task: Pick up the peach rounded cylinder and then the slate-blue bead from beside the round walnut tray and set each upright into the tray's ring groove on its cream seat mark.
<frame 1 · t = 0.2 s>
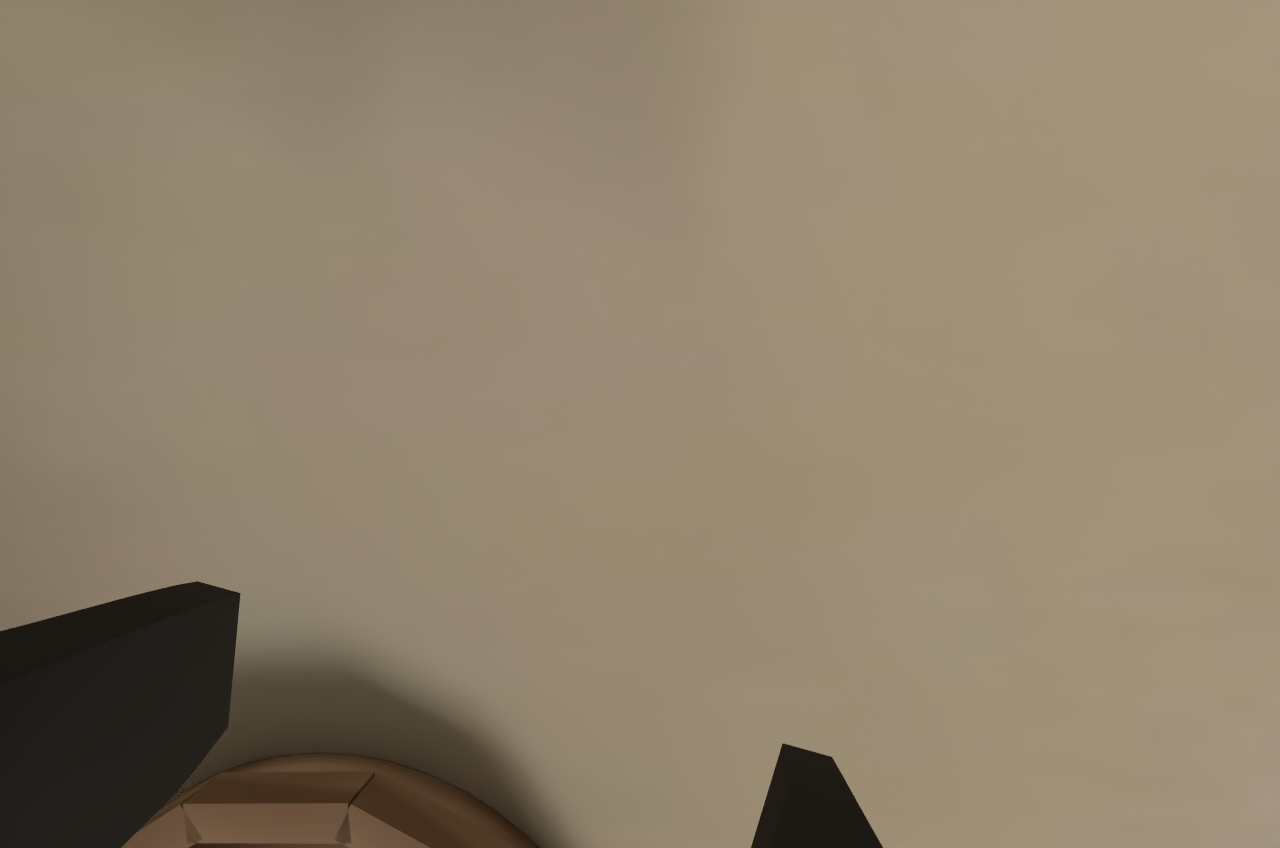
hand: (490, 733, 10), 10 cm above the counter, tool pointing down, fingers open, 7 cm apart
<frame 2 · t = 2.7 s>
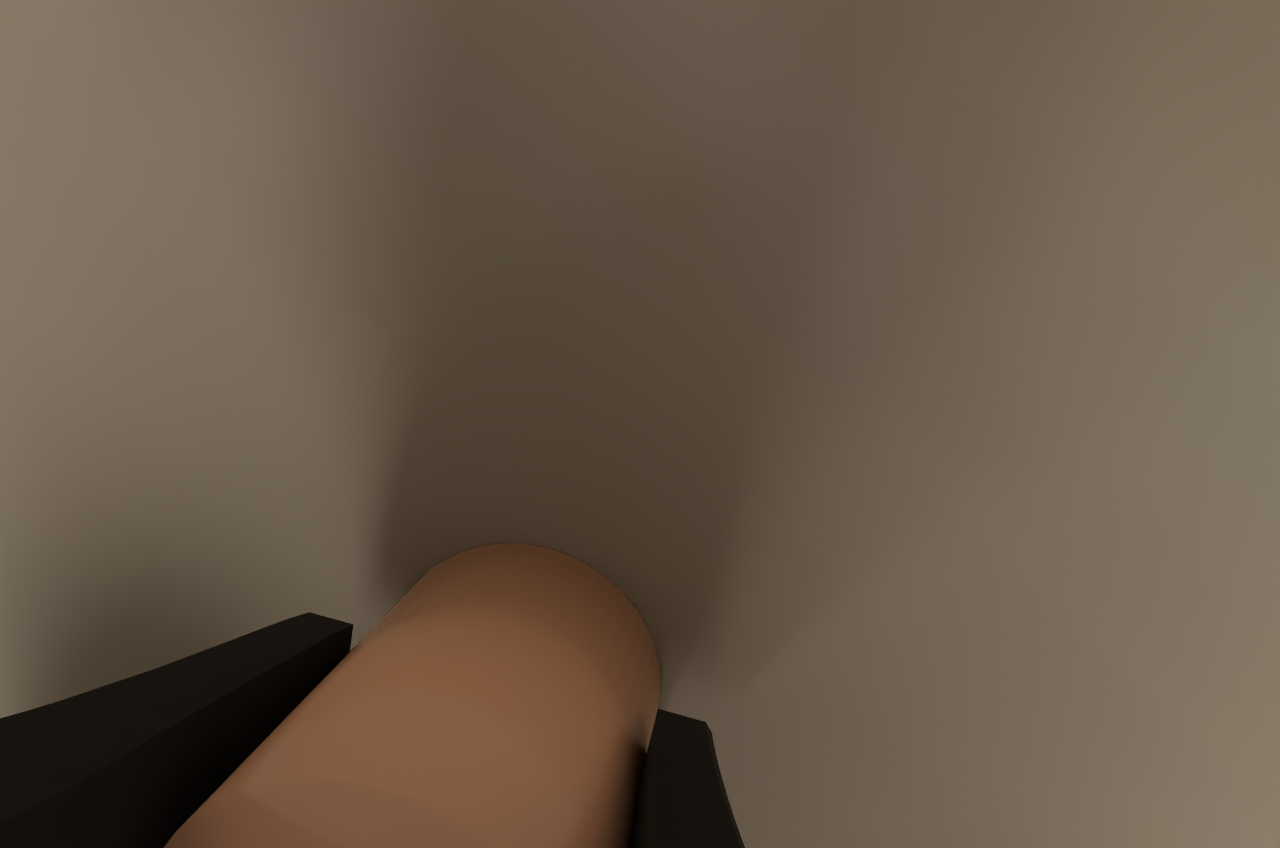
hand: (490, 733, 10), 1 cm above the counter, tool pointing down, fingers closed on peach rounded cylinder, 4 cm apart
peach rounded cylinder: (522, 673, 12), on the counter, touching gripper
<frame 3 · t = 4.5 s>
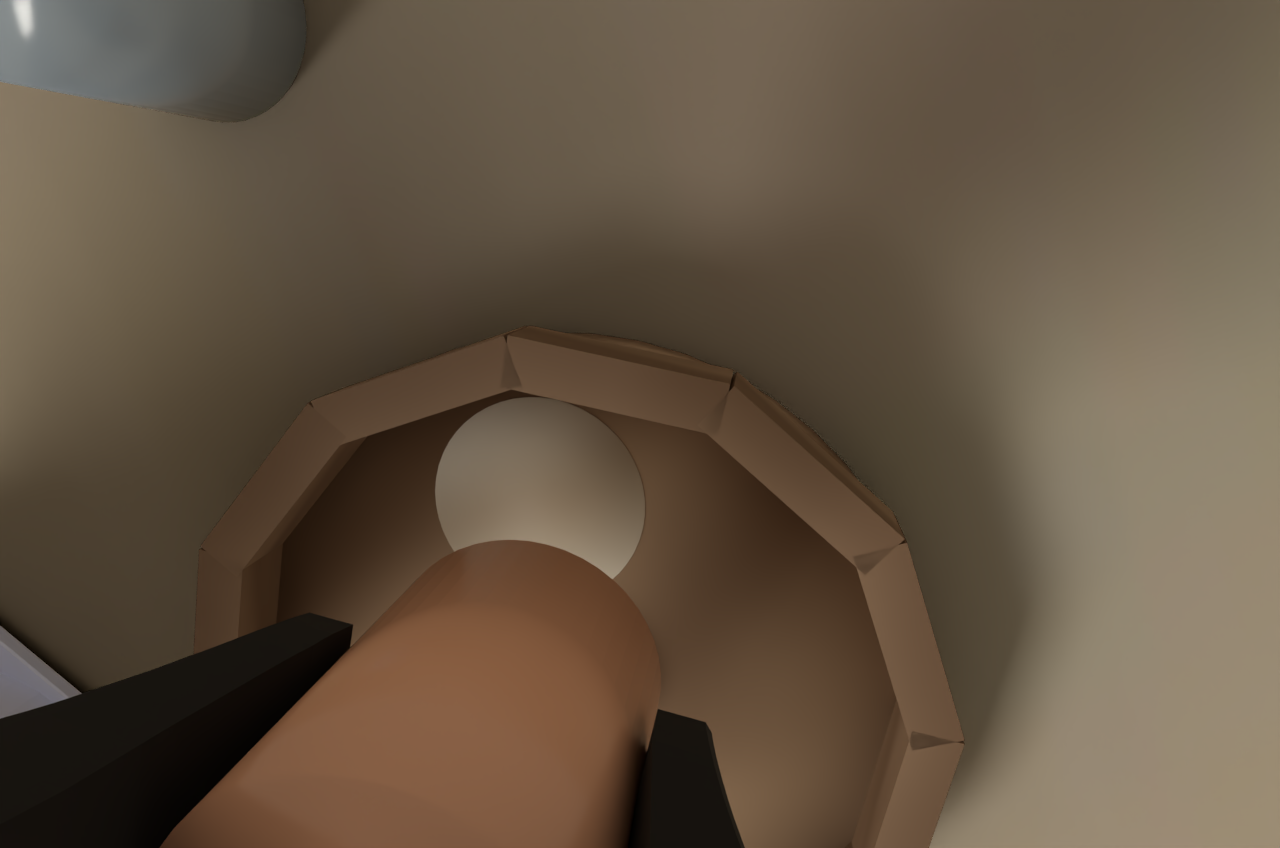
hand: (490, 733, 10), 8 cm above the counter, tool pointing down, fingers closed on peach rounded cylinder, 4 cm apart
slate bead: (217, 21, 17), on the counter
peach rounded cylinder: (522, 670, 12), point 7 cm above the counter, touching gripper
walnut groove tray: (574, 667, 19), on the counter
when the fingers open (4 cm above the counter, at t = 6.3 s): peach rounded cylinder drops 1 cm, resting on walnut groove tray.
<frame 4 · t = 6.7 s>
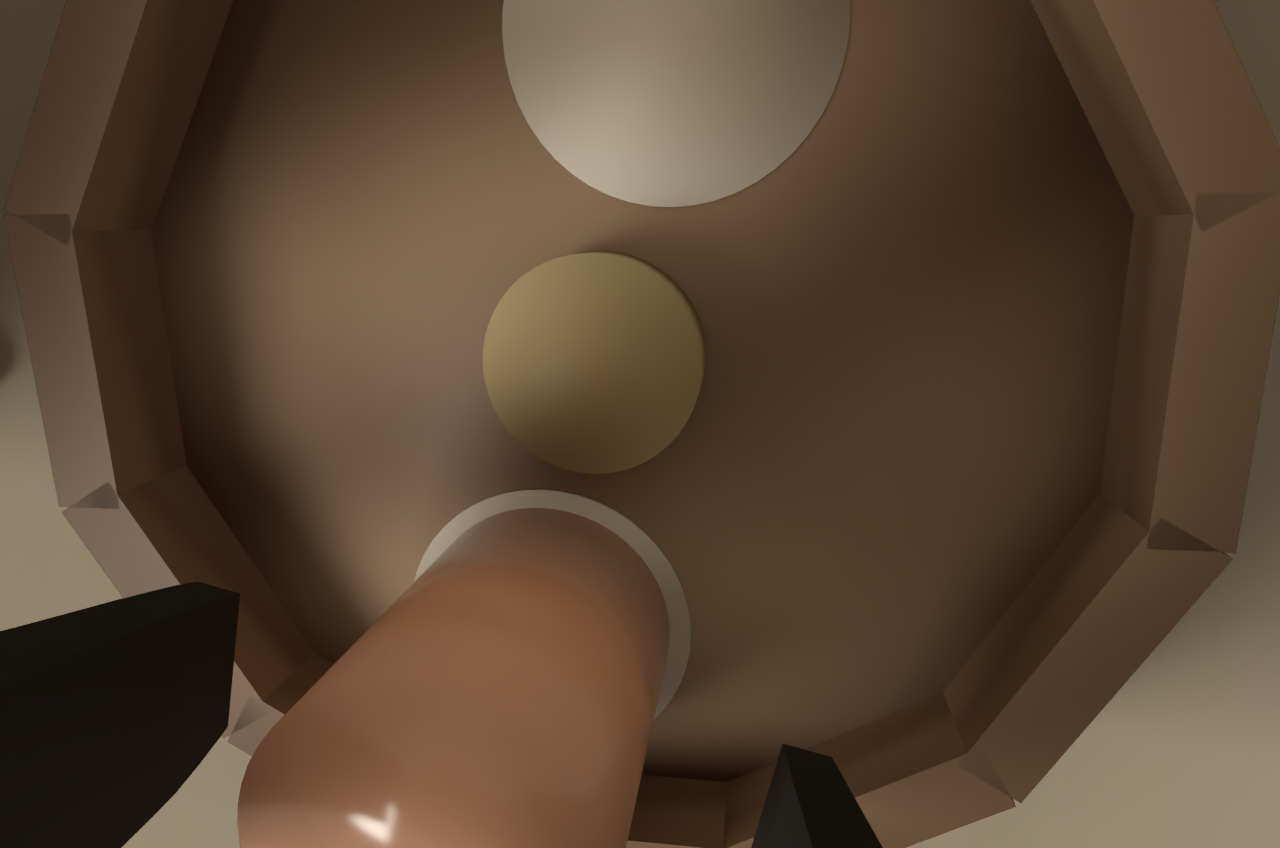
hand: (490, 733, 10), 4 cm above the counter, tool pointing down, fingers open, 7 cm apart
peach rounded cylinder: (545, 625, 13), point 1 cm above the counter, touching walnut groove tray
walnut groove tray: (615, 346, 13), on the counter
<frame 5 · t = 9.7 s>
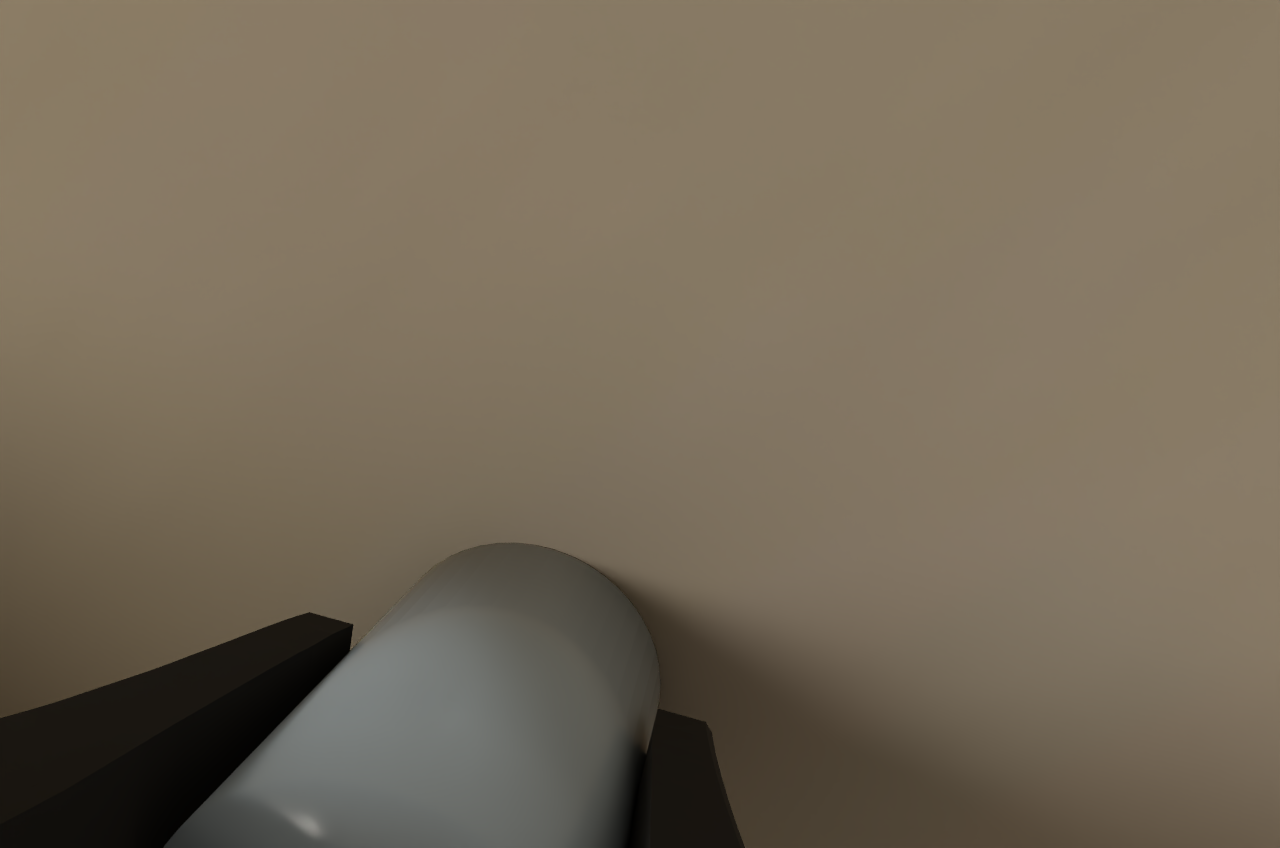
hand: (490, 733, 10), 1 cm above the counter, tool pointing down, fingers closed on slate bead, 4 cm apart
slate bead: (522, 673, 12), on the counter, touching gripper
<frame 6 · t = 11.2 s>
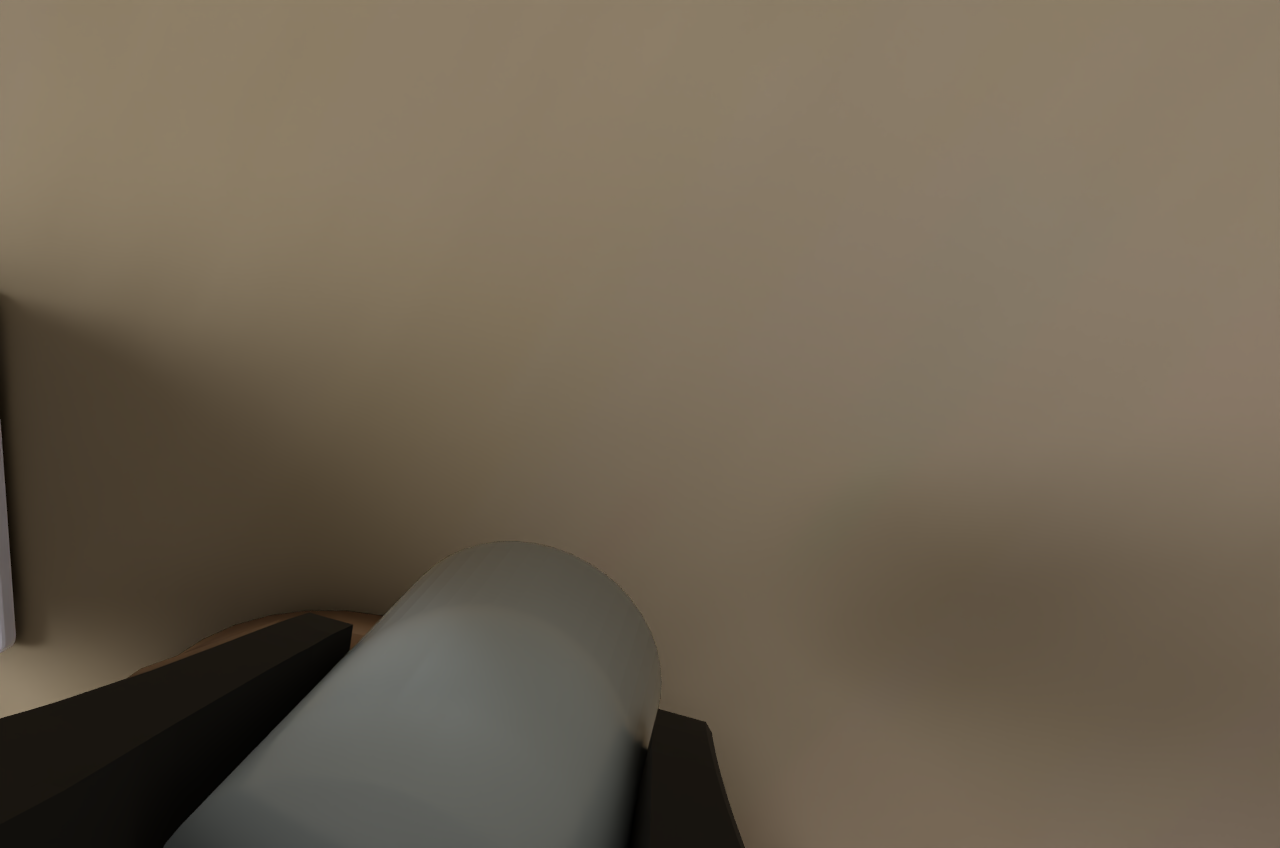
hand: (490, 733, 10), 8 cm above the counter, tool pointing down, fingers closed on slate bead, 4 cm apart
slate bead: (523, 671, 12), point 7 cm above the counter, touching gripper
when the fingers open (4 cm above the counter, at t = 13.0 s): slate bead drops 1 cm, resting on walnut groove tray.
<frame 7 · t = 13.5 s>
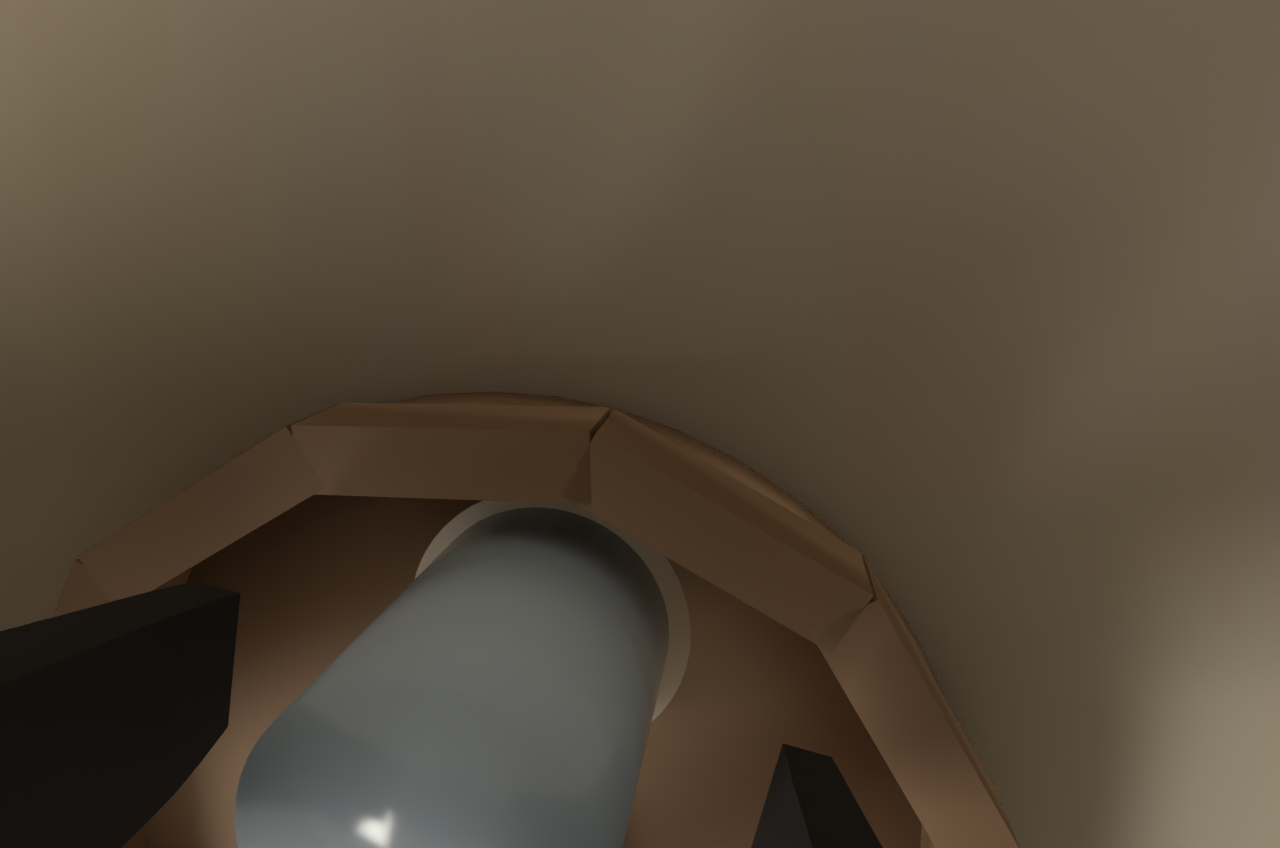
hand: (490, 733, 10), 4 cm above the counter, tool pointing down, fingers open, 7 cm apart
slate bead: (545, 625, 13), point 1 cm above the counter, touching walnut groove tray
walnut groove tray: (518, 811, 15), on the counter
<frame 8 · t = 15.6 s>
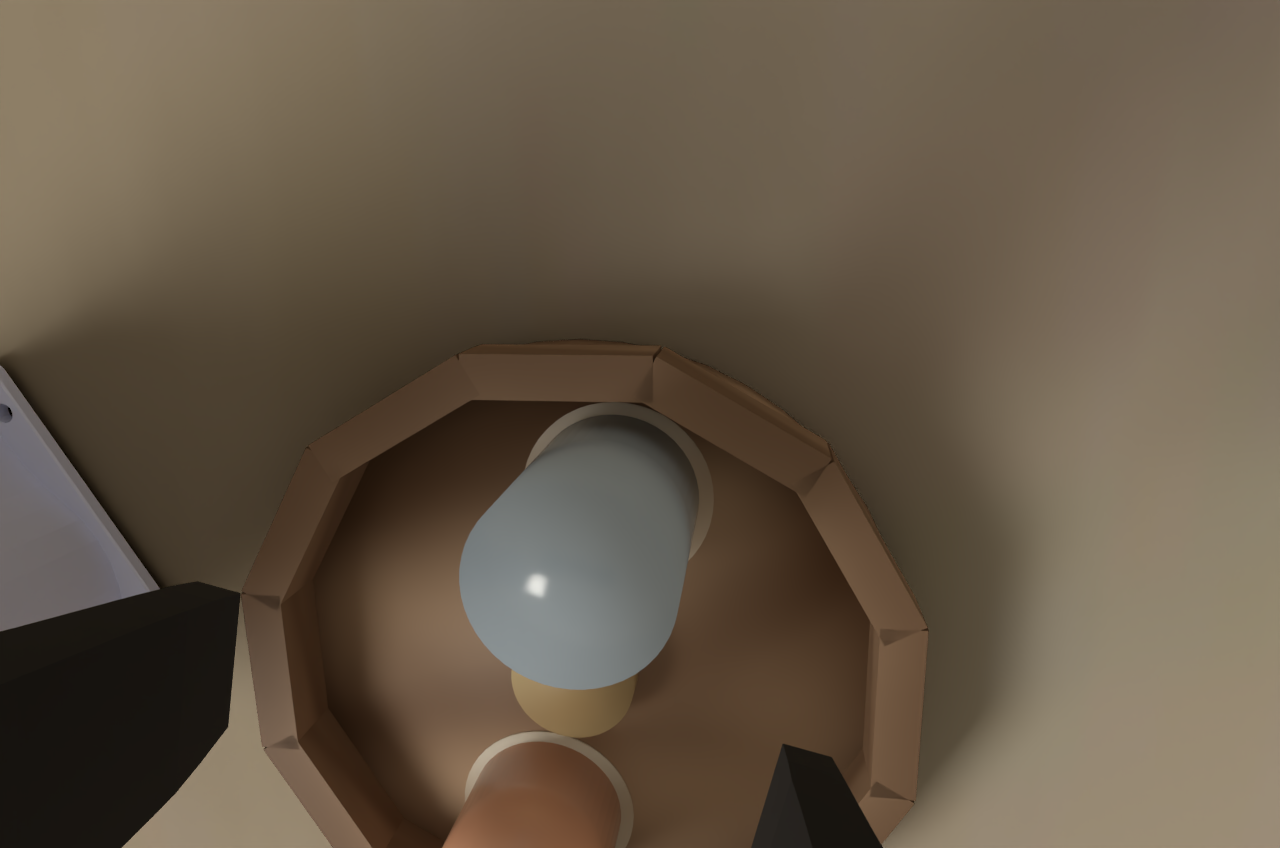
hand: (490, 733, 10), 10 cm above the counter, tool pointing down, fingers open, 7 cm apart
slate bead: (614, 496, 19), point 1 cm above the counter, touching walnut groove tray
peach rounded cylinder: (546, 808, 22), point 1 cm above the counter, touching walnut groove tray
walnut groove tray: (588, 641, 21), on the counter
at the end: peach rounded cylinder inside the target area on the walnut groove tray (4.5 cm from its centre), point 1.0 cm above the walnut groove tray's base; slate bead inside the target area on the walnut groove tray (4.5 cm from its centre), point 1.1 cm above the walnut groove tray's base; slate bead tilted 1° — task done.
